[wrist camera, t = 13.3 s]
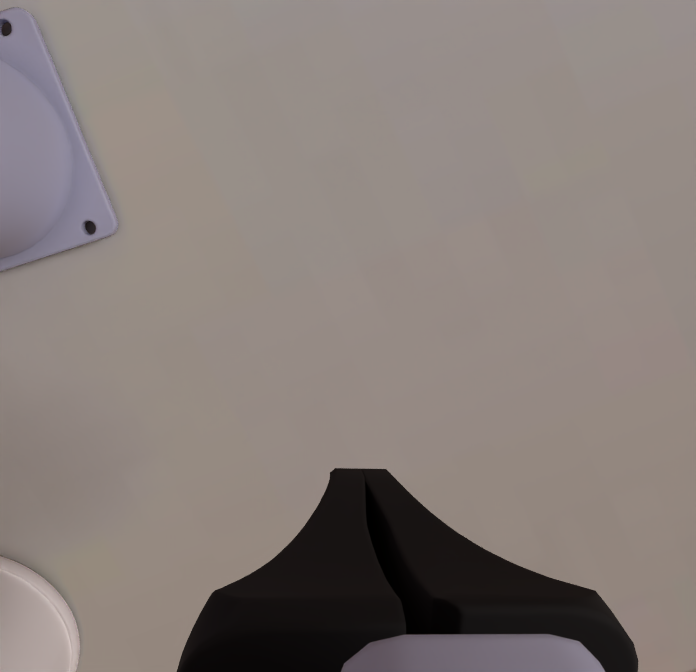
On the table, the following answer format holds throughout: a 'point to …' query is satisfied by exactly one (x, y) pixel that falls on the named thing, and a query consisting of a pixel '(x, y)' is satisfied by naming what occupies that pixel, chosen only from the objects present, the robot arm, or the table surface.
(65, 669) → the white oil can
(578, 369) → the table surface
